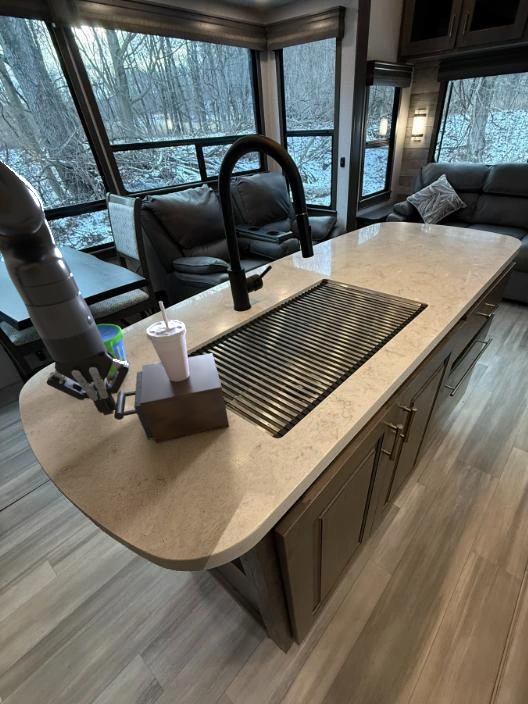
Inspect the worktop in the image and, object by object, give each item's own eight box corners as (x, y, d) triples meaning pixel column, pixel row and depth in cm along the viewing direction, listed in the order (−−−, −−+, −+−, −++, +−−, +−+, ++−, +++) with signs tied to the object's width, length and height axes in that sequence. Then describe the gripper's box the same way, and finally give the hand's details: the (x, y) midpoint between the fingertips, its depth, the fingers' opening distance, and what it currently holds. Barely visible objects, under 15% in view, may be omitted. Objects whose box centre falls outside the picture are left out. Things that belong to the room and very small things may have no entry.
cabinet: (156, 443, 61) (139, 403, 55) (156, 403, 71) (142, 365, 65) (229, 426, 64) (221, 387, 59) (220, 390, 74) (212, 353, 68)
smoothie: (203, 369, 63) (187, 298, 54) (183, 388, 58) (162, 313, 50) (175, 364, 65) (154, 293, 56) (153, 382, 60) (127, 308, 51)
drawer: (122, 445, 60) (106, 412, 55) (127, 407, 68) (113, 376, 63) (216, 424, 64) (208, 391, 59) (209, 390, 72) (202, 360, 67)
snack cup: (143, 379, 78) (128, 340, 71) (94, 395, 73) (74, 355, 67) (127, 352, 88) (113, 316, 82) (83, 364, 83) (64, 327, 77)
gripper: (115, 309, 55) (147, 392, 66) (24, 322, 52) (73, 407, 62) (111, 329, 49) (146, 416, 60) (8, 344, 46) (65, 433, 57)
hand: (109, 411), depth 61 cm, fingers closed
